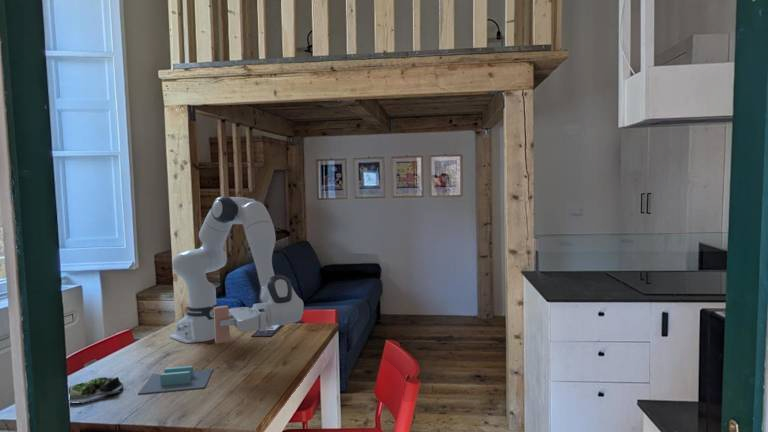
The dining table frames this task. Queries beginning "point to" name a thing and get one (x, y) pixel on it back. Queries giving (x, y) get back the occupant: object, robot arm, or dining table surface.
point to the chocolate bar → (267, 331)
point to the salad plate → (95, 389)
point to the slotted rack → (177, 375)
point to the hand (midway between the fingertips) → (218, 321)
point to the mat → (196, 383)
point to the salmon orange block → (221, 331)
